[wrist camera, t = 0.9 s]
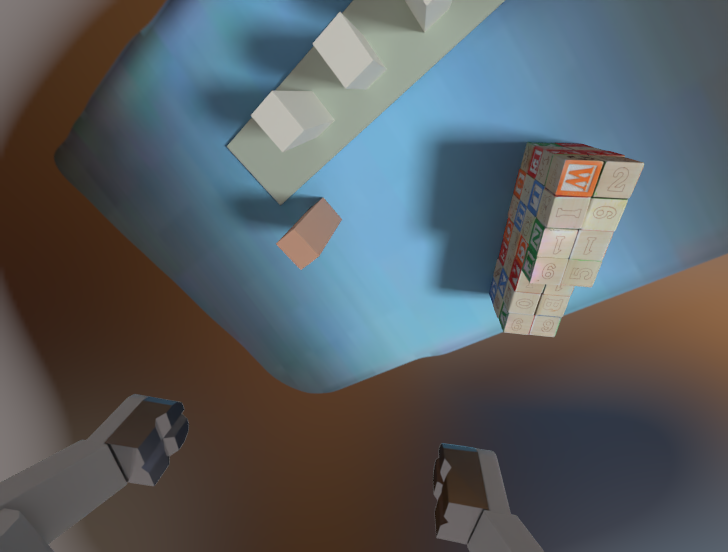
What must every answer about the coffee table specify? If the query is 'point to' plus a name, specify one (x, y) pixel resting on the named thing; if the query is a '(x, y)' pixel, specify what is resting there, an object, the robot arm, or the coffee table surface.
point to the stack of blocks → (557, 231)
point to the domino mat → (356, 106)
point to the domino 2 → (310, 234)
